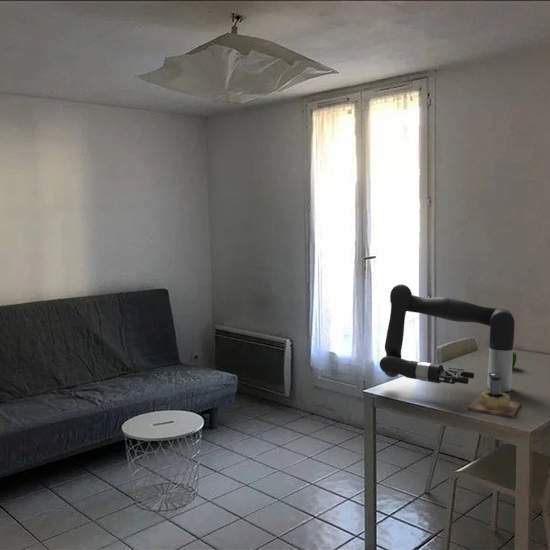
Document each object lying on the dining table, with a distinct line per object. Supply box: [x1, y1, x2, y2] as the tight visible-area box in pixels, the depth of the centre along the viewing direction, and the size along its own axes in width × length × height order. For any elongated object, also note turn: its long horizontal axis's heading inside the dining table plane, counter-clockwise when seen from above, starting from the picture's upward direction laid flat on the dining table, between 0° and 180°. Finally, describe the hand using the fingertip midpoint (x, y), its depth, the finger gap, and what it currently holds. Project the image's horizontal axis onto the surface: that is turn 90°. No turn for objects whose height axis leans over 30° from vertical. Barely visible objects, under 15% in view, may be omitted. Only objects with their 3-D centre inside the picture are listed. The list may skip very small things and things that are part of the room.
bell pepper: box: [512, 351, 517, 370], centre depth 279 cm, size 8×8×10 cm
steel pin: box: [489, 372, 502, 397], centre depth 223 cm, size 5×5×12 cm
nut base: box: [467, 390, 522, 419], centre depth 224 cm, size 16×16×5 cm
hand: (471, 378), depth 227 cm, fingers open, 8 cm apart
